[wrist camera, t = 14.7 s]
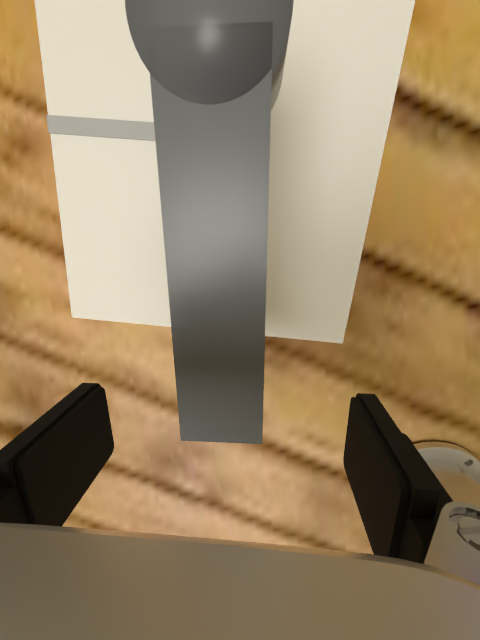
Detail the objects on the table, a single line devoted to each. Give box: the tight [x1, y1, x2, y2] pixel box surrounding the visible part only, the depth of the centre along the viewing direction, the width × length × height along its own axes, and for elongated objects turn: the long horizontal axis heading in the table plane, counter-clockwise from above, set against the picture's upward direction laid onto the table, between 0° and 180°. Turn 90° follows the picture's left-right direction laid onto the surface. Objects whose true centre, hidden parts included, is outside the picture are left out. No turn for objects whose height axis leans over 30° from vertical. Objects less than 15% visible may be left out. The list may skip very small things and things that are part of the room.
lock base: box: [35, 0, 415, 343], centre depth 20 cm, size 26×26×9 cm
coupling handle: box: [125, 0, 294, 444], centre depth 14 cm, size 19×5×6 cm, turn 0°
